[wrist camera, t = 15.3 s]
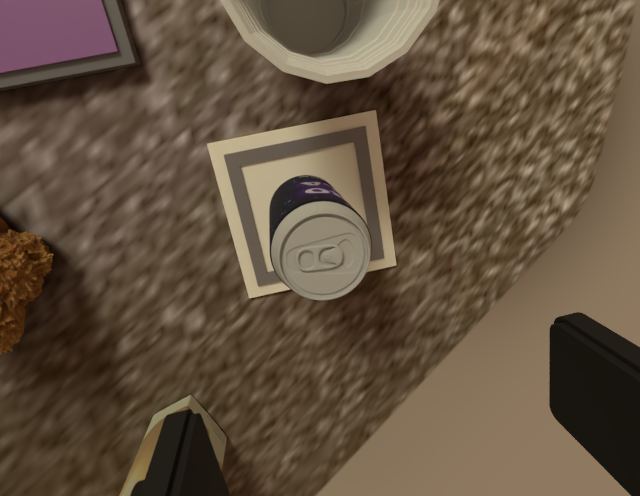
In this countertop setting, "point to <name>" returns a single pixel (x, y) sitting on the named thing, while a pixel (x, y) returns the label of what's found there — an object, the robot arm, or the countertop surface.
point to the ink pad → (62, 40)
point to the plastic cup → (331, 33)
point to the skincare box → (152, 435)
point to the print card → (295, 160)
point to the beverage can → (317, 239)
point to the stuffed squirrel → (19, 279)
